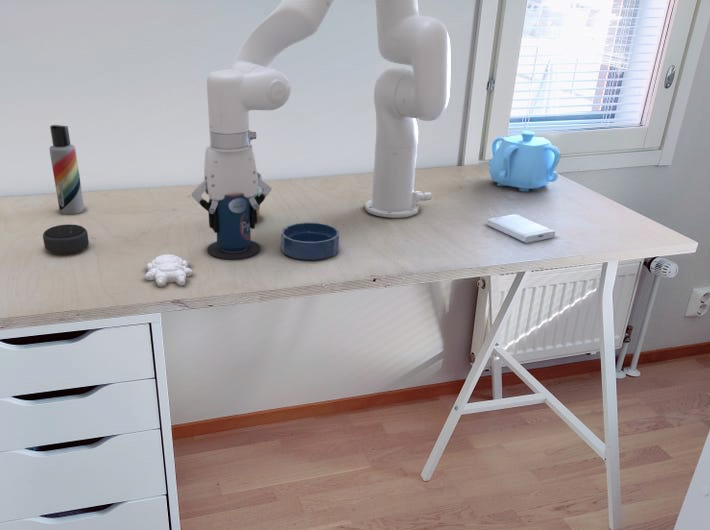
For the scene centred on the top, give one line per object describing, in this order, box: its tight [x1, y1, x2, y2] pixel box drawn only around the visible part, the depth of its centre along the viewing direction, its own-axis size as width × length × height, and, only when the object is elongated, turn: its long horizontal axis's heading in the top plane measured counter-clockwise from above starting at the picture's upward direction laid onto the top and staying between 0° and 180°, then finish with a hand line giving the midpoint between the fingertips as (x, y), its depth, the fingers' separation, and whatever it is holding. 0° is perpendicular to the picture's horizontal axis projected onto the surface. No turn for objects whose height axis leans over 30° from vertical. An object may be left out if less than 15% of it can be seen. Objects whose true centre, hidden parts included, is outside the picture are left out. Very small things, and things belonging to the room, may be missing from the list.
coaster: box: [206, 240, 261, 261], centre depth 147 cm, size 11×11×1 cm
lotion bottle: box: [49, 124, 85, 215], centre depth 164 cm, size 6×6×20 cm
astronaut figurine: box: [144, 254, 193, 288], centre depth 136 cm, size 9×12×3 cm
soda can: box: [216, 194, 252, 253], centre depth 144 cm, size 7×7×12 cm
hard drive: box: [486, 213, 556, 244], centre depth 157 cm, size 2×8×12 cm
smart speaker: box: [42, 223, 90, 256], centre depth 147 cm, size 9×9×4 cm
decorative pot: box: [488, 130, 561, 192], centre depth 184 cm, size 16×16×14 cm
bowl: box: [280, 221, 340, 261], centre depth 146 cm, size 12×12×4 cm
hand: (233, 227), depth 145 cm, fingers closed on soda can, 7 cm apart
